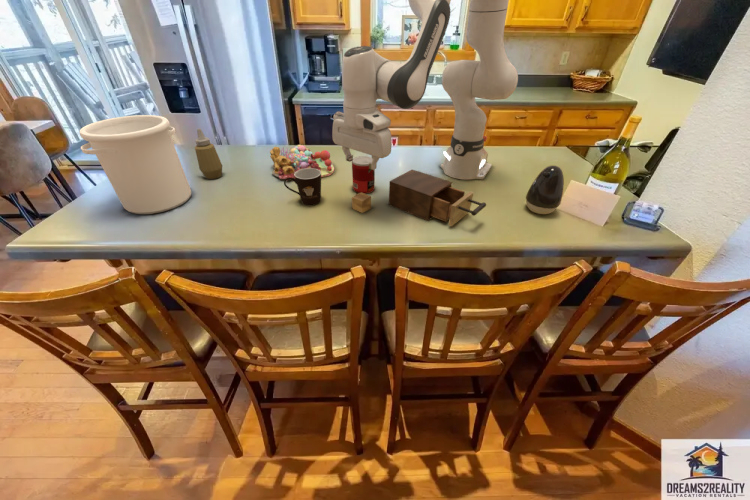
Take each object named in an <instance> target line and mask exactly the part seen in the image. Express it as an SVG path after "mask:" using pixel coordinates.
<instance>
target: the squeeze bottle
mask: <svg viewBox="0 0 750 500" xmlns="http://www.w3.org/2000/svg"><path fill="white" fill-rule="evenodd" d="M196 132H197V133H196V134H197V138H195V141H194V142H195V144H196V146H195V147H194V150H195V155H196V160H197V163H198V168H199V170H200V172H201V173H202V175H203V177H205V178H206V179H207V180H208V179H210V180H214V179H219V178H220V177H222V175H223V164H222V161H221V159H220V157H219V154H218V152H217V149H216V147H215V145H214V144H213V143H212V142H211V141H210V138H209V137H206V136H205V134H204V132H203V131H202V129H201V128H196Z"/></svg>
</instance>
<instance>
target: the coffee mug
mask: <svg viewBox="0 0 750 500" xmlns="http://www.w3.org/2000/svg"><path fill="white" fill-rule="evenodd" d="M294 176H295V179H294V178H286V179H283V185H284V187H285V188H286V189H288V190H289V191H291V192H292V193H295V194H297V195H298V196H299V198H300V200H301V203H302V205H304V206H309V207H311V206H316V205H318V204H320V203H321V201H322V177H321V171H320V170H318V169H314V168H305V169H301V170H298V171H296V172H295V173H294ZM289 179H290V180H291V181H293V183H294V184H296V187H297V190H298V191H296V190H295V189H292V188H291V187H289V186H288V185H287V183H286V182H288V181H290V180H289ZM287 180H288V181H287Z"/></svg>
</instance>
